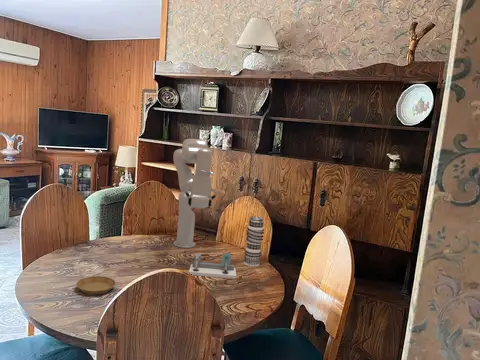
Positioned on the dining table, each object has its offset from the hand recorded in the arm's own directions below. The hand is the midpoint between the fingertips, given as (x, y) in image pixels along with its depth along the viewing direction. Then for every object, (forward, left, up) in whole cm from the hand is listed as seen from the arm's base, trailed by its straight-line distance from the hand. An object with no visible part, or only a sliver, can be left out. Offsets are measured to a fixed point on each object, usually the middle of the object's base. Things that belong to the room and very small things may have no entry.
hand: (199, 206), depth 197 cm
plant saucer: (+44, -36, -29) cm, 64 cm away
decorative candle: (-2, +30, -28) cm, 41 cm away
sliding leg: (+15, +16, -26) cm, 34 cm away
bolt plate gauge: (+16, +10, -28) cm, 34 cm away
